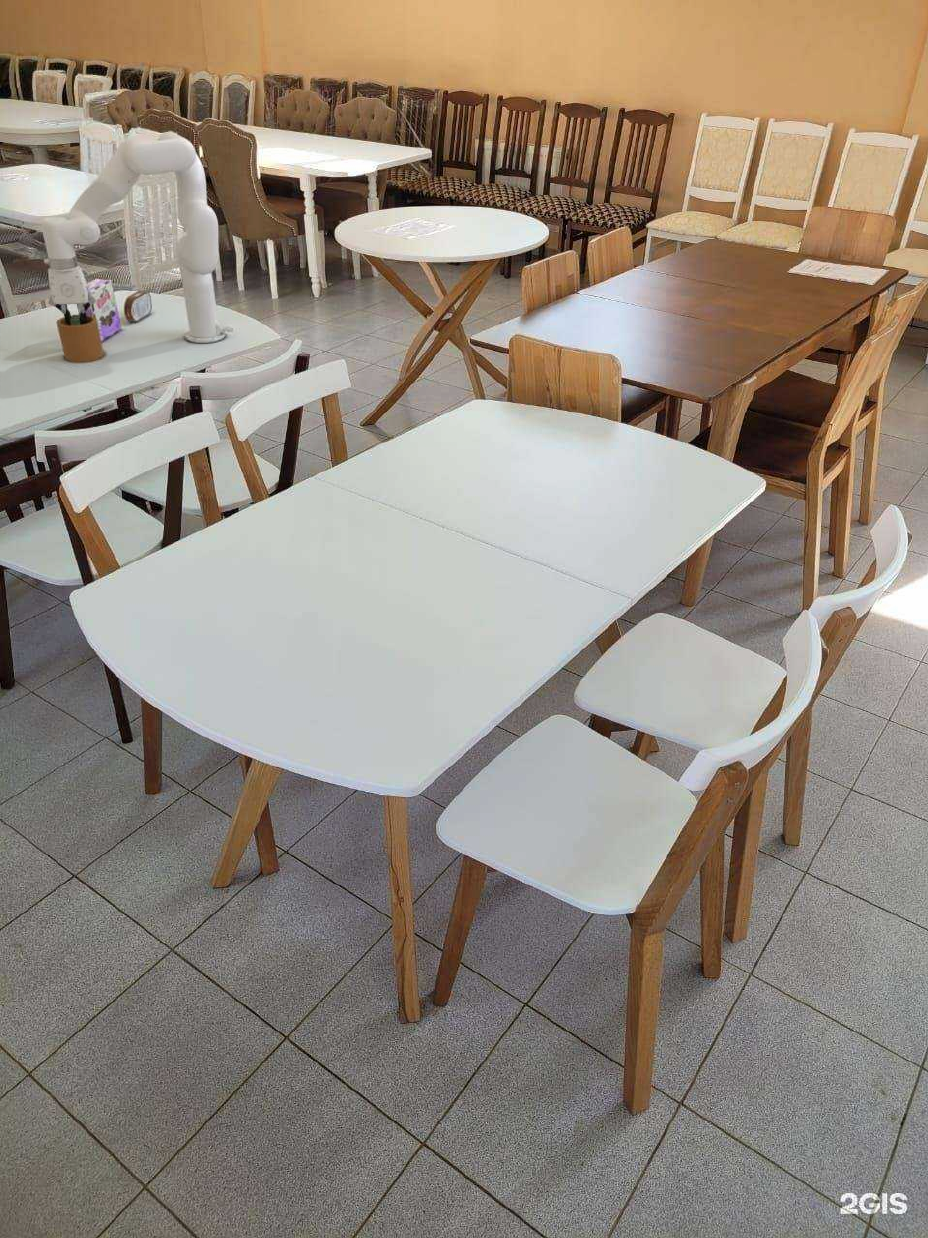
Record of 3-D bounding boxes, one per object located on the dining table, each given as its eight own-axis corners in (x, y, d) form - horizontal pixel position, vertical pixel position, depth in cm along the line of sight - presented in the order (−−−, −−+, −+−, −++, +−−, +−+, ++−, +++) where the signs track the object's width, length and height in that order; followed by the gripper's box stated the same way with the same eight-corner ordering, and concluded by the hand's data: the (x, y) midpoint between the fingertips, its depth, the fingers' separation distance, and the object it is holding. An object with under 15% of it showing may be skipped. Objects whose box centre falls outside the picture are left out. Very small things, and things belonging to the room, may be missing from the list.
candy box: (100, 343, 294) (89, 290, 284) (83, 341, 295) (72, 289, 285) (122, 329, 305) (112, 279, 295) (106, 328, 306) (95, 277, 296)
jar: (106, 348, 290) (98, 314, 283) (100, 361, 280) (93, 325, 274) (68, 350, 288) (60, 315, 281) (62, 362, 279) (53, 327, 272)
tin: (147, 311, 321) (142, 286, 316) (155, 312, 321) (151, 287, 316) (125, 324, 309) (120, 299, 304) (134, 325, 309) (129, 300, 304)
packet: (87, 340, 284) (81, 314, 280) (84, 346, 280) (78, 320, 275) (78, 340, 284) (72, 314, 279) (75, 346, 279) (69, 320, 275)
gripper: (31, 266, 264) (46, 330, 274) (91, 265, 266) (104, 328, 277) (36, 260, 270) (51, 322, 280) (95, 258, 272) (107, 320, 283)
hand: (77, 324), depth 278 cm, fingers open, 3 cm apart
